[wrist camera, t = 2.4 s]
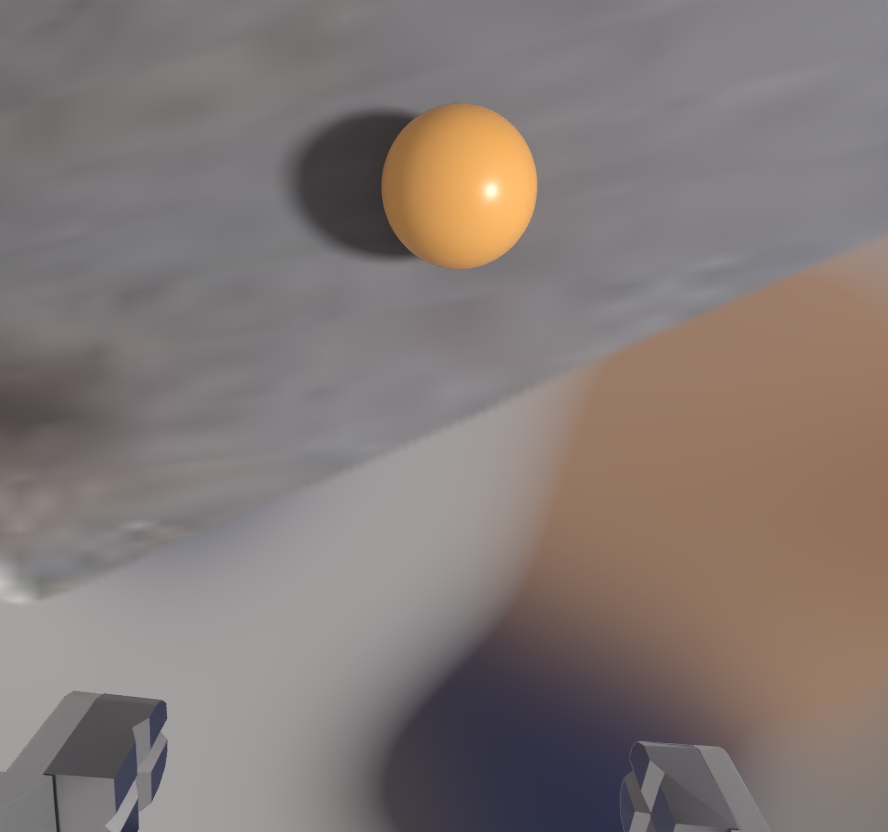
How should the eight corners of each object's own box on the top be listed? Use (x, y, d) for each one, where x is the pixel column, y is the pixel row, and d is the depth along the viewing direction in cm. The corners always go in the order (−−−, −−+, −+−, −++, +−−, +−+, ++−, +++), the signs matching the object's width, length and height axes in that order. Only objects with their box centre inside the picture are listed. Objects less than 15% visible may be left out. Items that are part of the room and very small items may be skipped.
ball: (536, 126, 26) (564, 100, 20) (514, 271, 28) (534, 285, 22) (394, 107, 26) (381, 76, 20) (382, 255, 27) (367, 265, 22)
